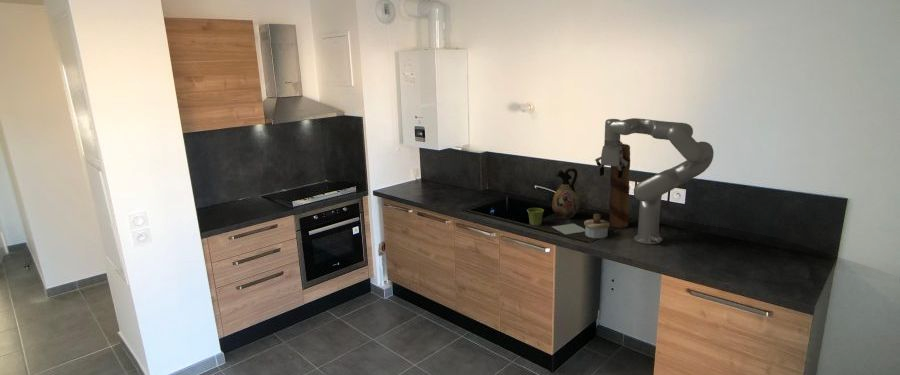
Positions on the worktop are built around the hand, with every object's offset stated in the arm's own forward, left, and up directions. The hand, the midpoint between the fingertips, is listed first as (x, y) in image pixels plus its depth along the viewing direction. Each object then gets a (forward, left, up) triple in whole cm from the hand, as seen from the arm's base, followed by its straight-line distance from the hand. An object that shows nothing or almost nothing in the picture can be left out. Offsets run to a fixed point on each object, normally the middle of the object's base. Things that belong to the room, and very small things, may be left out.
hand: (610, 176), depth 256 cm
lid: (-2, +9, -24) cm, 26 cm away
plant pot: (+28, +28, -31) cm, 50 cm away
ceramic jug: (+33, +5, -31) cm, 45 cm away
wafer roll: (+8, -12, -31) cm, 34 cm away
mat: (+12, +16, -30) cm, 36 cm away
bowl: (-2, +9, -30) cm, 32 cm away
